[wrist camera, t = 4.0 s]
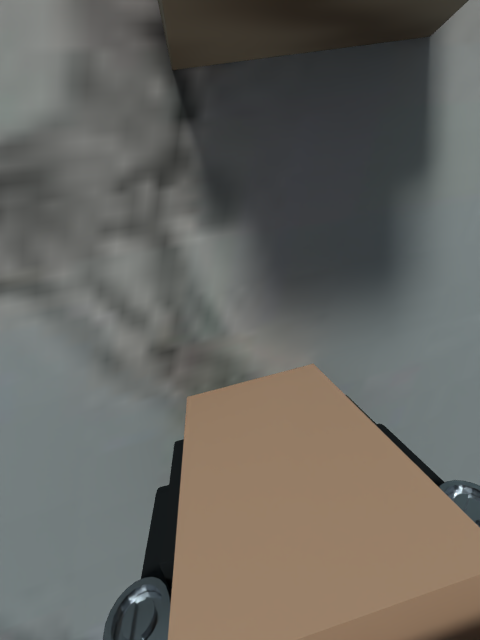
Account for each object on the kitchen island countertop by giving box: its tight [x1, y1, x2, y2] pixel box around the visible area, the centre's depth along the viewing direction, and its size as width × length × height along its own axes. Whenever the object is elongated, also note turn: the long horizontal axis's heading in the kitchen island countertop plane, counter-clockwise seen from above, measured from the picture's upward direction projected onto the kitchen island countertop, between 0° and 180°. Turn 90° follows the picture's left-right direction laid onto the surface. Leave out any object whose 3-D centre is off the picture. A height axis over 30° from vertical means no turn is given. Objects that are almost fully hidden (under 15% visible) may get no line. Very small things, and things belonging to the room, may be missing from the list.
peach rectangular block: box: [168, 364, 480, 640], centre depth 8 cm, size 5×5×7 cm
